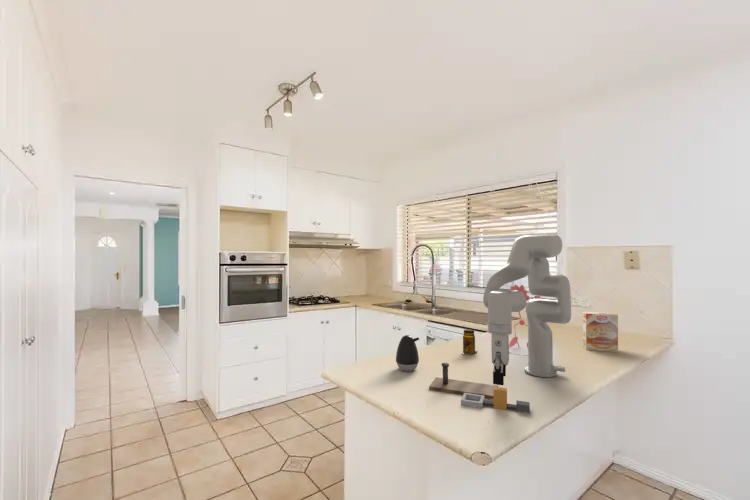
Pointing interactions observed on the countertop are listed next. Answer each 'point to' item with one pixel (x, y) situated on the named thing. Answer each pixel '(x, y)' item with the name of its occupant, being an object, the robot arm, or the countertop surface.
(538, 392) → the countertop surface
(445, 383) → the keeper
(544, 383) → the countertop surface
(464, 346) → the condiment
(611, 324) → the coffeecake box
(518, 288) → the red flower sprig
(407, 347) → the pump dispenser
